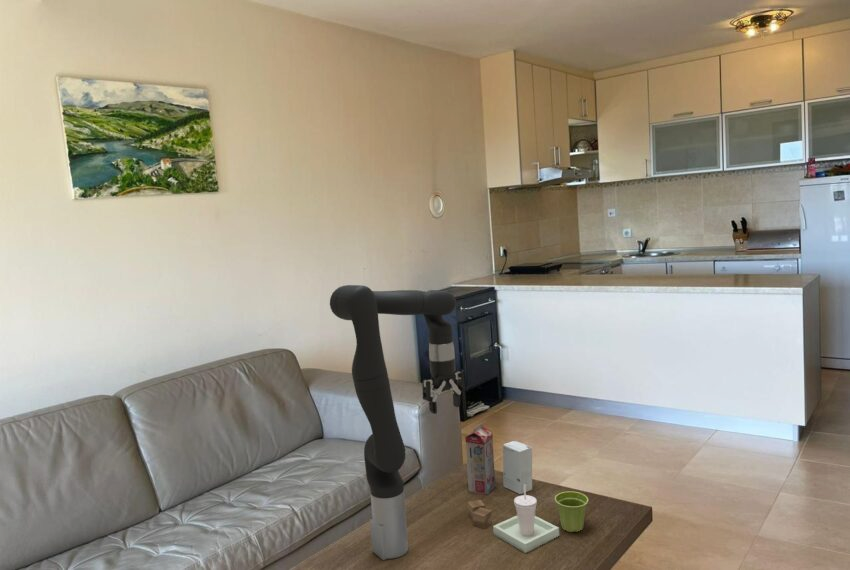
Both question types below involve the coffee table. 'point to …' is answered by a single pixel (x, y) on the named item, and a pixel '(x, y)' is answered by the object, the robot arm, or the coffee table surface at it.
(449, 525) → the coffee table surface
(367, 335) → the robot arm
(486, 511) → the walnut block
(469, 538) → the coffee table surface
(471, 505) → the walnut block
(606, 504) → the coffee table surface
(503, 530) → the dish
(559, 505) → the plant pot
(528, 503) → the smoothie
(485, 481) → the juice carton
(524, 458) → the skincare box
